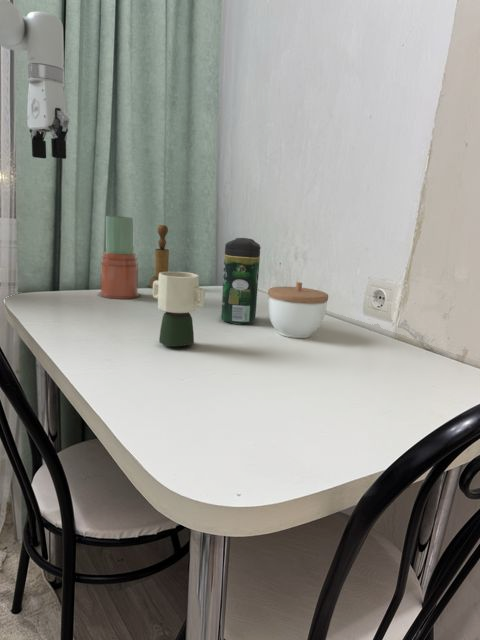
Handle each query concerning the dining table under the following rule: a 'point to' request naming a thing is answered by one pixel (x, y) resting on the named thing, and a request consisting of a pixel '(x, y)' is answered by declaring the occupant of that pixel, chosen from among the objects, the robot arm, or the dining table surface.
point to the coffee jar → (240, 281)
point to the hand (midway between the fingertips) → (48, 157)
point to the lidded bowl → (296, 310)
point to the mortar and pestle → (161, 255)
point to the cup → (119, 235)
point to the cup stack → (119, 276)
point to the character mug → (178, 306)
